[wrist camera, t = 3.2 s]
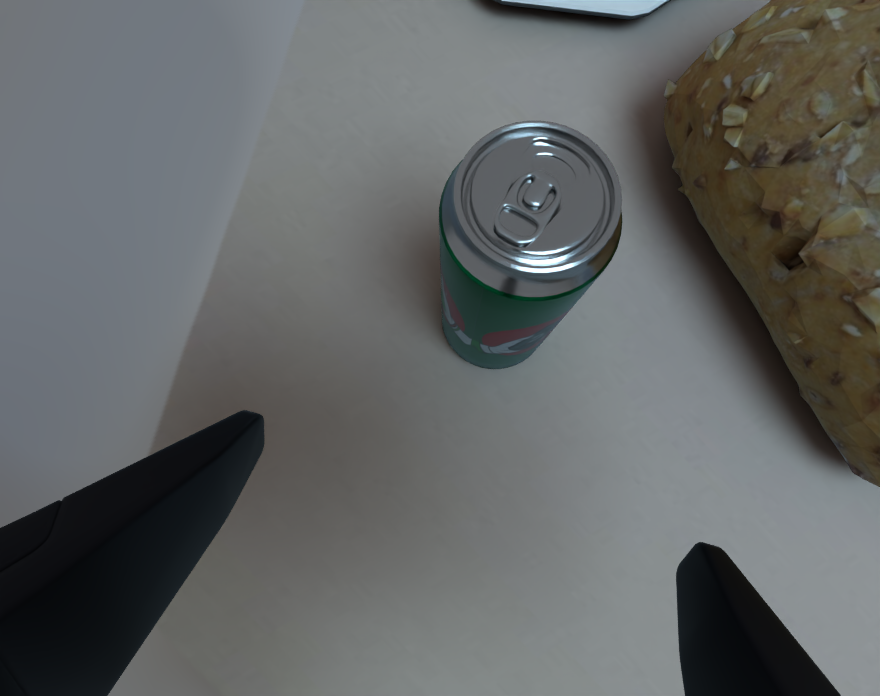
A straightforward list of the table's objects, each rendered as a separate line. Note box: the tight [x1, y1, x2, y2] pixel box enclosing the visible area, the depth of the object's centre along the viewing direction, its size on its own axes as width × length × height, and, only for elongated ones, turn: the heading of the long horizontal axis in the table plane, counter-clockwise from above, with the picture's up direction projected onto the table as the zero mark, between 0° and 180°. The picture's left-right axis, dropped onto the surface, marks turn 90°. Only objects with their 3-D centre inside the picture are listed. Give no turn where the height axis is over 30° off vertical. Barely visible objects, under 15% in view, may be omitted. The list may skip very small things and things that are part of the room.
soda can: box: [439, 121, 622, 369], centre depth 18 cm, size 5×5×12 cm
